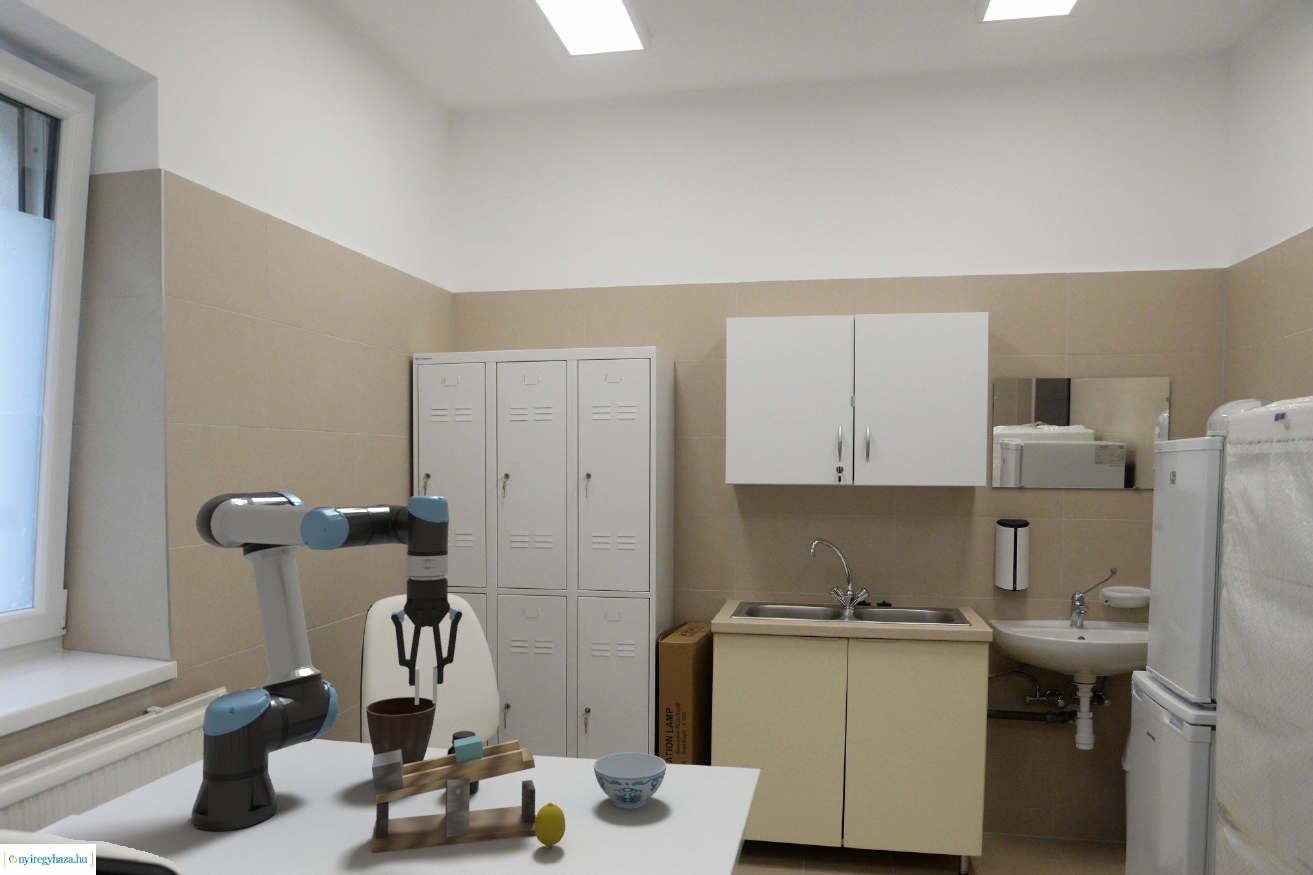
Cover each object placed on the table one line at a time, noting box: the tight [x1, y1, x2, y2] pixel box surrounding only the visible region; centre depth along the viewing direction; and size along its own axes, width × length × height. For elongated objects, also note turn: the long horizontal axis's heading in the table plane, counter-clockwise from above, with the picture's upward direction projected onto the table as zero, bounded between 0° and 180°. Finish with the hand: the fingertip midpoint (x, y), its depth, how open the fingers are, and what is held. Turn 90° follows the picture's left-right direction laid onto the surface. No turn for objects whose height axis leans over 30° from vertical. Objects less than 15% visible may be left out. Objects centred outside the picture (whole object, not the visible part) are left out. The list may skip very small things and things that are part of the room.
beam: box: [371, 739, 536, 805], centre depth 163 cm, size 29×7×7 cm, turn 105°
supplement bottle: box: [446, 730, 480, 796], centre depth 183 cm, size 7×7×12 cm
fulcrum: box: [371, 778, 537, 854], centre depth 163 cm, size 30×12×11 cm, turn 105°
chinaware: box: [593, 751, 667, 809], centre depth 177 cm, size 15×15×8 cm
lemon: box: [535, 802, 566, 849], centre depth 155 cm, size 6×6×8 cm
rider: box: [454, 734, 484, 763], centre depth 164 cm, size 5×4×5 cm
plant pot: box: [365, 696, 437, 765], centre depth 190 cm, size 15×15×16 cm
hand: (425, 701), depth 162 cm, fingers open, 3 cm apart
